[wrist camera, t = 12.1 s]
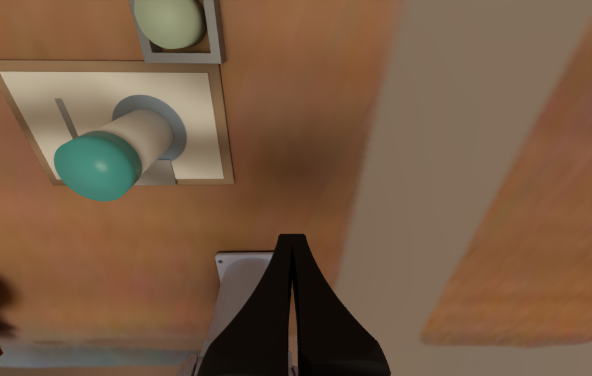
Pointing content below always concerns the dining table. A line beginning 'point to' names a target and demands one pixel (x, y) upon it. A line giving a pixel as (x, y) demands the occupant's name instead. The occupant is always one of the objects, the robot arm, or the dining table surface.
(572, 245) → the dining table surface
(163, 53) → the button housing
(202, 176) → the clipboard
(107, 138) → the marker
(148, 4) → the button
